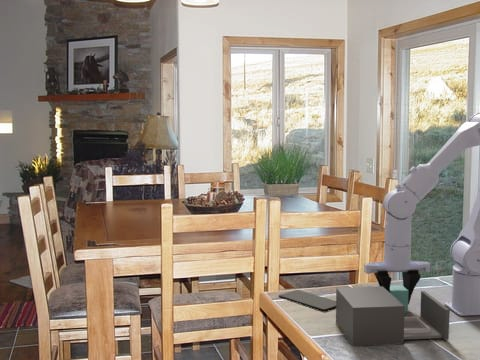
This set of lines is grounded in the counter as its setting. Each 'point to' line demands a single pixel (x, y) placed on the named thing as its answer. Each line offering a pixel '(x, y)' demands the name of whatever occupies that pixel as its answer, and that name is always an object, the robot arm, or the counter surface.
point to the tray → (428, 320)
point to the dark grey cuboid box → (370, 316)
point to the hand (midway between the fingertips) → (396, 303)
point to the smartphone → (310, 300)
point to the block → (400, 294)
